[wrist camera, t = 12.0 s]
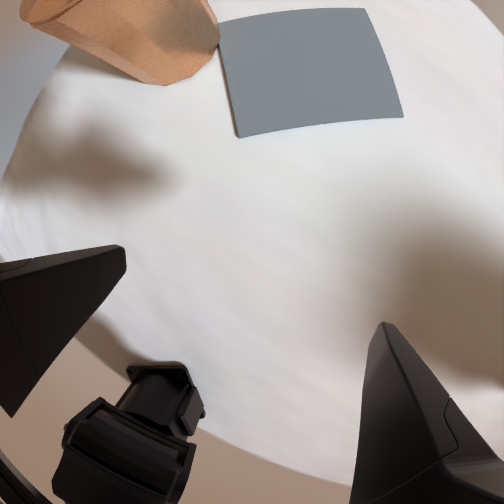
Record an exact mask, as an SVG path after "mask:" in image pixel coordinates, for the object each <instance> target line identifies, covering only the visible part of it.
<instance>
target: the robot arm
mask: <svg viewBox="0 0 504 504" xmlns="http://www.w3.org/2000/svg"><path fill="white" fill-rule="evenodd" d="M126 268H127V266H126V254H125V249H124V248H123V247H122V246H119V245H107V246H101V247H95V248H88V249H82V250H76V251H70V252H64V253H58V254H52V255H46V256H41V257H35V258H33V259H32V258H29V259H23V260H18V261H11V262H5V263H0V405H1V407H2V408H3V409H4V410H5V412H6V413H7V414H8V415H9V416H10V417H11V418H12V417H13V416H14V415H15V413H16V412H17V411H18V409H19V408H20V406H21V405H22V403H23V402H24V400H25V399H26V397H27V396H28V395H29V393H30V392H31V391H32V389H33V388H34V387H35V385H36V384H37V382H38V381H39V380H40V378H41V377H42V375H43V374H44V373H45V371H46V370H47V369H48V368H49V366H50V365H51V364H52V362H53V361H54V360H55V358H56V357H57V356H58V355H59V354H60V352H61V351H62V350H63V349H64V347H65V346H66V345H67V344H68V342H69V341H70V340H71V339H72V338H73V336H74V335H75V334H76V333H77V332H78V330H79V329H80V328H81V327H82V326H83V325H84V323H85V322H86V321H87V320H88V319H89V318H90V316H91V315H92V314H93V313H94V312H95V311H96V310H97V308H98V307H99V306H100V305H101V304H102V303H103V302H104V300H105V299H106V298H107V296H108V295H109V294H110V292H111V291H112V290H113V288H114V287H115V286H116V284H117V283H118V282H119V280H120V279H121V278H122V276H123V275H124V274H125V272H126ZM180 370H182V371H183V372H181V371H180ZM126 372H127V374H128V376H129V378H130V380H131V382H132V383H131V384H130V386H129V387H128V388H127V390H126V391H125V393H124V394H123V395H122V397H121V398H120V400H119V401H118V402H117V404H116V405H115V406H113V405H111V404H110V403H108V402H106V400H105V399H103V398H102V397H99V398H97V399H96V400H95V401H93V402H91V403H90V404H89V405H88V406H87V407H85V408H84V409H83V410H82V411H81V412H79V413H78V414H77V415H76V416H74V417H73V418H72V419H71V420H70V421H69V423H67V424H65V426H64V432H65V433H64V436H63V439H62V449H63V450H64V451H63V455H62V458H61V461H60V464H59V466H58V468H57V470H56V472H55V474H54V476H53V479H52V489H53V493H54V494H55V495H56V496H58V497H59V498H60V499H62V500H63V501H64V502H65V504H177V503H178V502H179V500H180V498H181V496H182V493H183V491H184V489H185V486H186V483H187V481H188V477H189V474H190V470H191V466H192V462H193V458H194V454H195V450H196V446H197V445H196V444H194V443H188V442H186V440H187V438H188V436H192V435H193V434H194V432H195V429H196V426H197V424H198V421H199V419H202V418H204V417H205V411H204V409H203V407H204V405H203V403H202V400H201V398H200V395H199V393H198V390H197V388H196V387H195V386H194V384H193V382H192V379H191V377H190V374H189V371H188V369H187V368H186V367H185V366H128V368H127V369H126ZM449 397H450V395H449V394H448V393H447V391H446V390H445V389H444V387H443V386H442V385H441V383H440V382H439V381H438V379H437V378H436V377H435V375H434V374H433V373H432V371H431V370H430V369H429V368H428V366H427V365H426V364H425V363H424V361H423V360H422V359H421V357H420V356H419V355H418V354H417V352H416V351H415V350H414V349H413V347H412V346H411V345H410V344H409V343H408V341H407V340H406V339H405V338H404V336H403V335H402V334H401V333H400V332H399V330H398V329H397V328H396V327H395V326H394V325H393V324H391V323H386V322H381V323H380V324H379V325H378V327H377V329H376V332H375V334H374V336H373V338H372V339H371V342H370V344H369V348H368V356H367V363H366V370H365V377H364V383H363V391H362V406H361V420H360V431H359V441H358V450H357V458H356V465H355V472H354V479H353V485H352V490H351V496H350V501H349V504H504V461H502V460H501V459H500V458H499V457H498V456H497V455H496V454H495V453H494V451H493V450H492V449H491V448H490V446H489V445H488V444H487V443H486V441H485V440H484V439H483V438H482V436H481V435H480V434H479V433H478V432H477V430H476V429H475V428H474V427H473V425H472V424H471V423H470V422H469V421H468V419H467V418H466V417H465V415H464V414H463V413H462V411H461V410H460V409H459V407H458V406H457V405H456V403H455V402H454V401H453V399H452V398H451V397H450V398H449ZM0 497H1V498H2V499H3V500H4V502H5V503H6V504H52V503H51V502H50V501H49V500H48V499H47V498H46V497H45V496H44V495H42V494H41V493H40V492H39V491H38V490H37V489H36V488H35V487H34V486H33V485H32V484H31V483H30V482H29V481H28V480H27V479H26V478H25V477H24V476H23V475H22V474H21V473H20V472H19V471H18V469H17V468H16V467H15V466H14V465H13V464H12V463H11V462H10V460H9V459H8V458H7V457H6V456H5V455H4V453H3V452H2V451H1V450H0ZM0 504H3V503H2V502H1V501H0Z"/></svg>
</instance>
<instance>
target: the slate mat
mask: <svg viewBox="0 0 504 504" xmlns="http://www.w3.org/2000/svg"><path fill="white" fill-rule="evenodd" d="M218 26H219V30H220V35H221V39H220V41H219V45H220V50H221V55H222V59H223V64H224V69H225V73H226V78H227V83H228V87H229V92H230V97H231V102H232V106H233V111H234V116H235V121H236V126H237V131H238V135H239V138H243V137H248V136H253V135H258V134H263V133H268V132H273V131H279V130H285V129H291V128H297V127H304V126H311V125H318V124H326V123H334V122H343V121H354V120H366V119H380V118H402V117H404V115H403V111H402V107H401V104H400V100H399V97H398V93H397V90H396V87H395V84H394V80H393V77H392V74H391V71H390V68H389V66H388V63H387V60H386V57H385V55H384V52H383V49H382V47H381V44H380V42H379V39H378V37H377V35H376V32H375V30H374V28H373V25H372V23H371V21H370V19H369V17H368V14H367V12H366V10H365V8H317V9H302V10H291V11H282V12H274V13H267V14H261V15H255V16H249V17H244V18H239V19H235V20H230V21H226V22H222V23H218Z"/></svg>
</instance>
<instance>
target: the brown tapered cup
mask: <svg viewBox="0 0 504 504" xmlns="http://www.w3.org/2000/svg"><path fill="white" fill-rule="evenodd" d="M20 17H21V19H22V20H23V21H25V22H28V23H30V24H31V26H32V27H33V28H35V29H38V30H40V31H42V32H45V33H47V34H49V35H52V36H54V37H56V38H58V39H61V40H63V41H65V42H67V43H69V44H71V45H73V46H76V47H78V48H80V49H82V50H84V51H86V52H88V53H90V54H92V55H94V56H96V57H98V58H100V59H102V60H103V61H105V62H107V63H109V64H111V65H113V66H115V67H116V68H118V69H120V70H122V71H124V72H126V73H127V74H129V75H131V76H133V77H134V78H136V79H138V80H140V81H141V82H143V83H147V84H156V85H164V86H167V85H169V84H172V83H175V82H177V81H180V80H183V79H186V78H189V77H192V76H193V75H194V74H195V73H196V72H197V71H198V70H199V69H200V68H202V67H203V66H204V65H205V64H206V63H207V62H208V61H210V60H211V59H212V57H213V55H214V52H215V50H216V48H217V46H218V43H219V41H220V39H221V35H220V30H219V26H218V22H217V18H216V17H215V15H214V13H213V11H212V9H211V7H210V5H209V4H208V2H207V0H22V3H21V6H20Z"/></svg>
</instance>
